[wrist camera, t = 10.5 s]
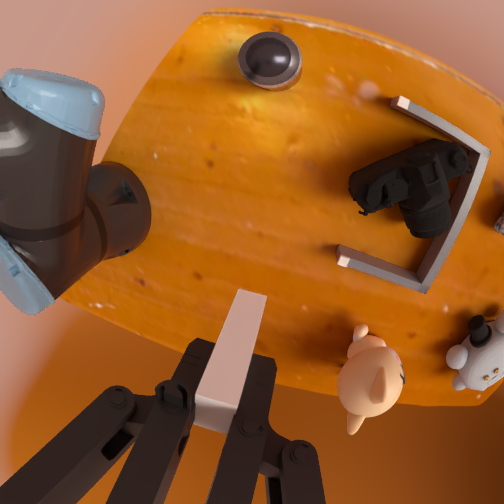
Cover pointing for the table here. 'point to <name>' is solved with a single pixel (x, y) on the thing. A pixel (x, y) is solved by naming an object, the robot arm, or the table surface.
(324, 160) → the table surface
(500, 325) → the figurine
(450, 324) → the table surface
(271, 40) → the lens
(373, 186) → the film camera
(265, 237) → the table surface
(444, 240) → the bracket
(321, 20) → the table surface
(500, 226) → the mineral rock
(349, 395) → the kitten
